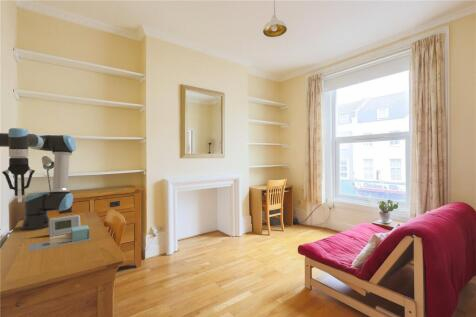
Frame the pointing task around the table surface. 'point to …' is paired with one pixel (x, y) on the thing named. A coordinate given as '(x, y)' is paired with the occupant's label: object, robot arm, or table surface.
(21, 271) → the table surface
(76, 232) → the end cap
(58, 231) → the digital clock
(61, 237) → the slat
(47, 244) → the mat
